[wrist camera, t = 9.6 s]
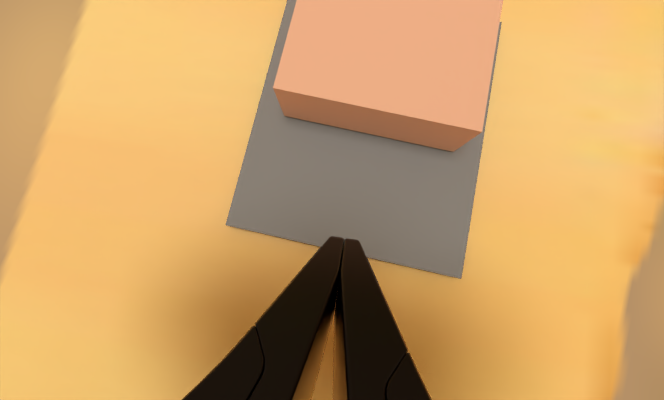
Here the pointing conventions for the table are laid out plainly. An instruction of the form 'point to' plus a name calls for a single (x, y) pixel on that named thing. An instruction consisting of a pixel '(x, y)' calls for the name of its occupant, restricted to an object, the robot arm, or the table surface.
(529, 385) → the table surface
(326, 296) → the robot arm
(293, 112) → the salmon pink block
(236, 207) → the mat
